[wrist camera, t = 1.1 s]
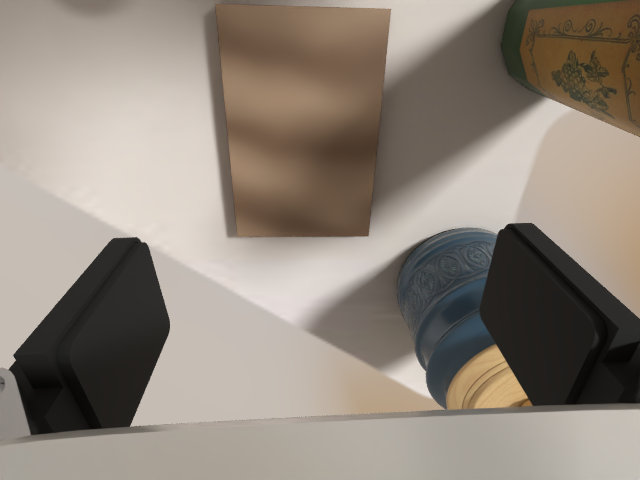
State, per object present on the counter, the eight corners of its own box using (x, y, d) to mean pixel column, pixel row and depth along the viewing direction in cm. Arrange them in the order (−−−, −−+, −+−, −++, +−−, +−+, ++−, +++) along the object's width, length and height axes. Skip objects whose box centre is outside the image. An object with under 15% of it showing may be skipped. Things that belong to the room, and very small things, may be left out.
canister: (425, 342, 45) (491, 510, 29) (371, 265, 39) (418, 424, 24) (533, 290, 41) (671, 448, 26) (492, 199, 36) (637, 333, 20)
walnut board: (219, 4, 27) (215, 3, 26) (386, 9, 28) (390, 8, 26) (239, 228, 36) (237, 236, 35) (365, 228, 37) (368, 236, 35)
